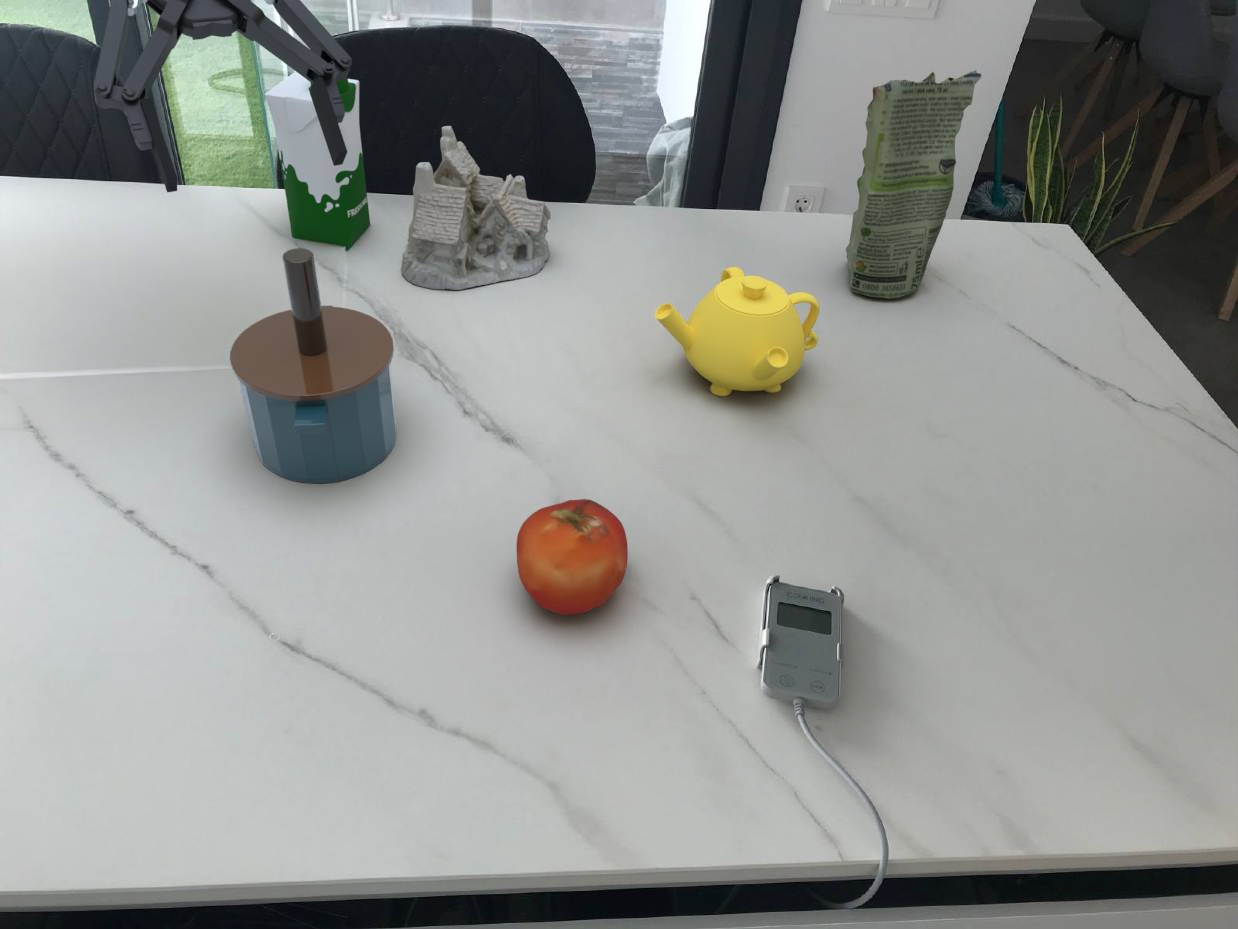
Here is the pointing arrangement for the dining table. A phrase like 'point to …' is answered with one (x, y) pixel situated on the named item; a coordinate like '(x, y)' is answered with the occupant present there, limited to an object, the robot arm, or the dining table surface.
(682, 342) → the teapot
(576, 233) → the dining table surface
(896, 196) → the pouch
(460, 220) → the ceramic cottage
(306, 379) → the lid
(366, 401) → the pot
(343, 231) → the milk carton
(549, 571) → the tomato
